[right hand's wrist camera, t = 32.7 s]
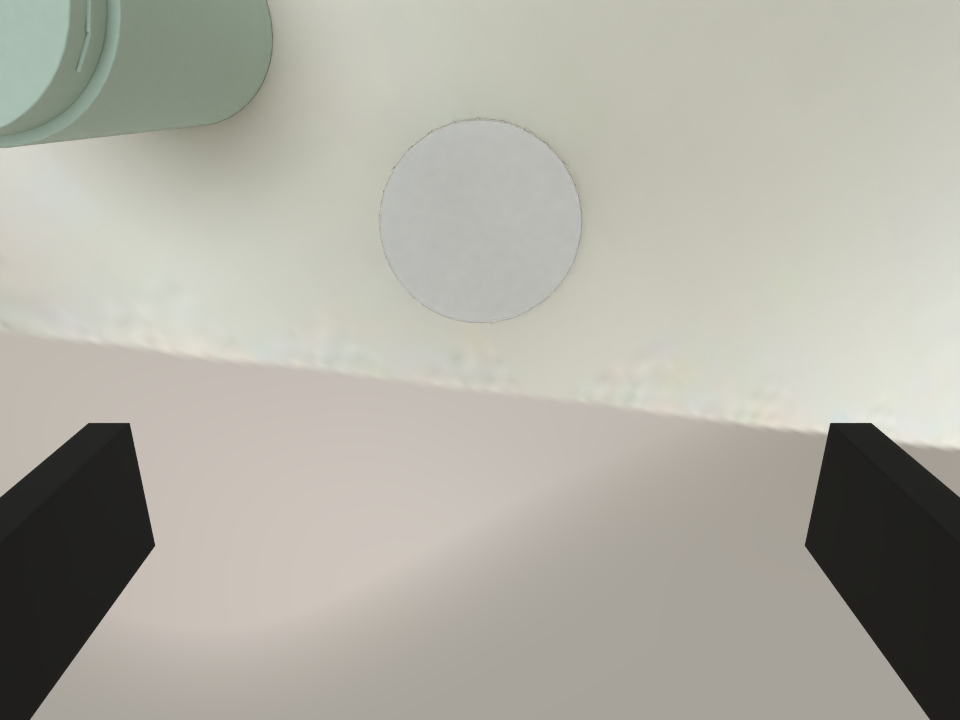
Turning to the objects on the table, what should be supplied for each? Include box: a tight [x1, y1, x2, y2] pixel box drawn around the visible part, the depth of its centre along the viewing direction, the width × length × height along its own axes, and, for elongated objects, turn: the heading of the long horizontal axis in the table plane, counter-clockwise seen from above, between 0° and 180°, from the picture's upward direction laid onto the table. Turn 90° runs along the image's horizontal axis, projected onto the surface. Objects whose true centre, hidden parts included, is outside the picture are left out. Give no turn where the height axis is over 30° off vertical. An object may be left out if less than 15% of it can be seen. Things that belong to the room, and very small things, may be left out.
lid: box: [379, 117, 581, 323], centre depth 40 cm, size 12×12×2 cm
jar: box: [0, 0, 272, 148], centre depth 28 cm, size 10×10×19 cm
